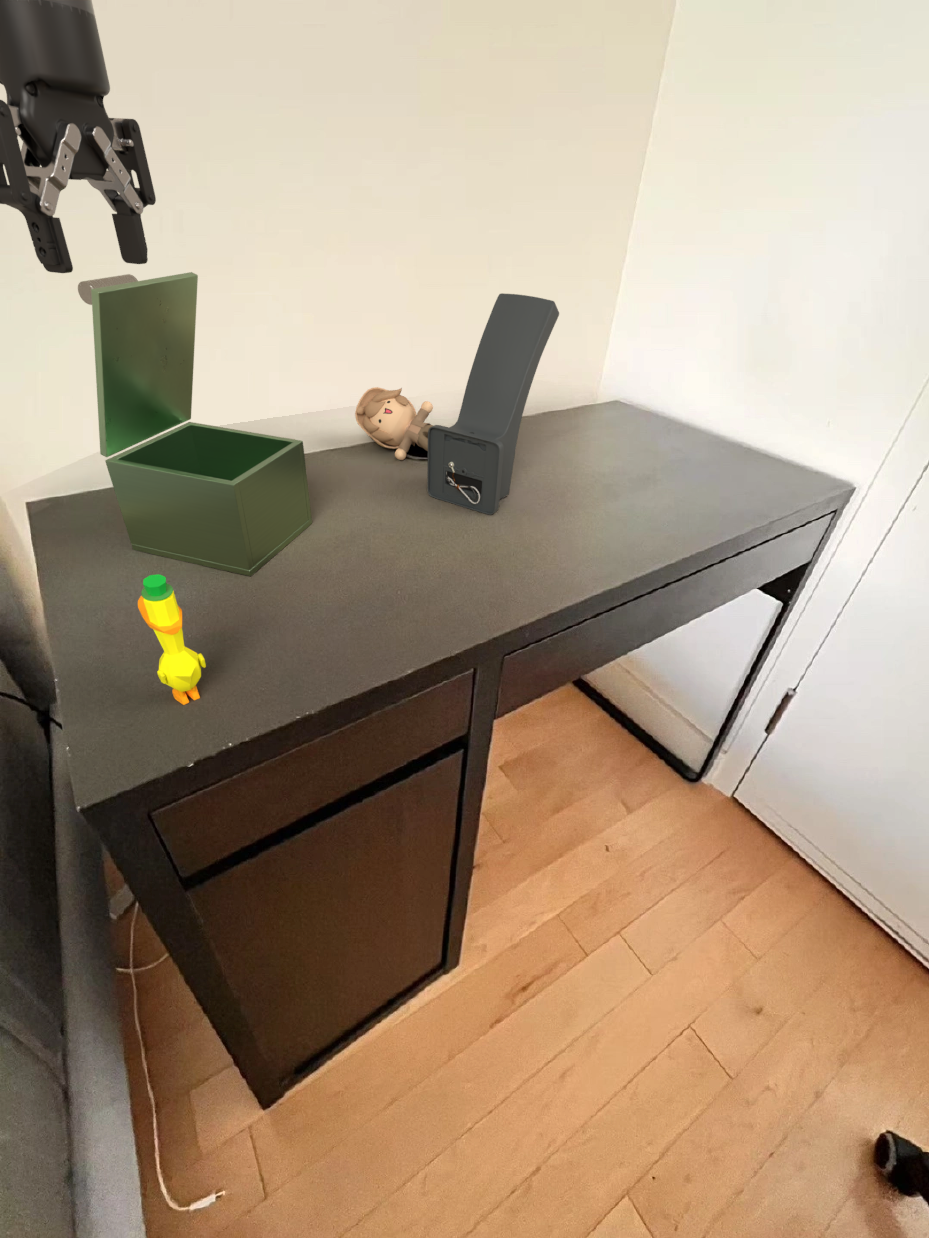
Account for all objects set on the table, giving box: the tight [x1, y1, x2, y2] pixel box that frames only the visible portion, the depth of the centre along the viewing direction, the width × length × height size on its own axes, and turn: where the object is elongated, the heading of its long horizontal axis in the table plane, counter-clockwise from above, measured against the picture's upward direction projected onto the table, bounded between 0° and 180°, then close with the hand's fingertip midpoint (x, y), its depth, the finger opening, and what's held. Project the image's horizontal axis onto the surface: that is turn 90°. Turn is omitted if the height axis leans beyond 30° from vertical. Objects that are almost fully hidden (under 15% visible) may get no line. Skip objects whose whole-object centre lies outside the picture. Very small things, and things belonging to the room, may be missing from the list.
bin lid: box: [77, 271, 199, 458], centre depth 64 cm, size 17×14×6 cm
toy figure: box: [137, 573, 207, 706], centre depth 49 cm, size 7×4×12 cm, turn 42°
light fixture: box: [426, 293, 560, 516], centre depth 83 cm, size 11×17×24 cm, turn 149°
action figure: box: [354, 386, 434, 461], centre depth 97 cm, size 10×11×15 cm
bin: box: [104, 421, 313, 577], centre depth 71 cm, size 16×14×11 cm
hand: (100, 267), depth 52 cm, fingers open, 8 cm apart
